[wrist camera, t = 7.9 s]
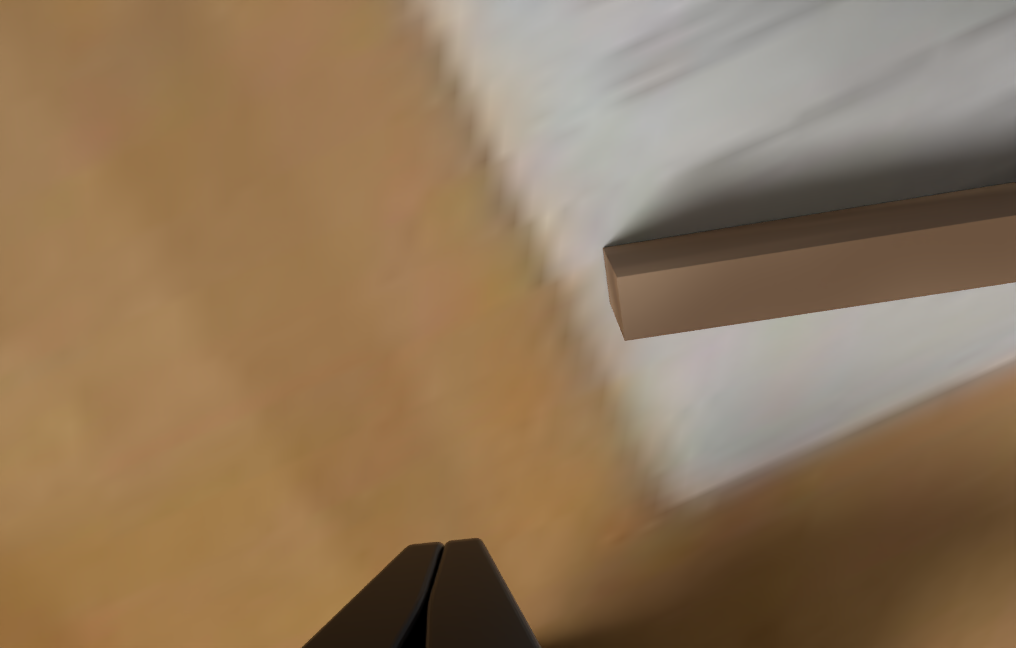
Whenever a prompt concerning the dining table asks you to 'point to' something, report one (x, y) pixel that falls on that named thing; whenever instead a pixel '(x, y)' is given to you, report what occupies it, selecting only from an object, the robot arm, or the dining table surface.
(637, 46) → the dining table surface
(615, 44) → the dining table surface
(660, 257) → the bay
